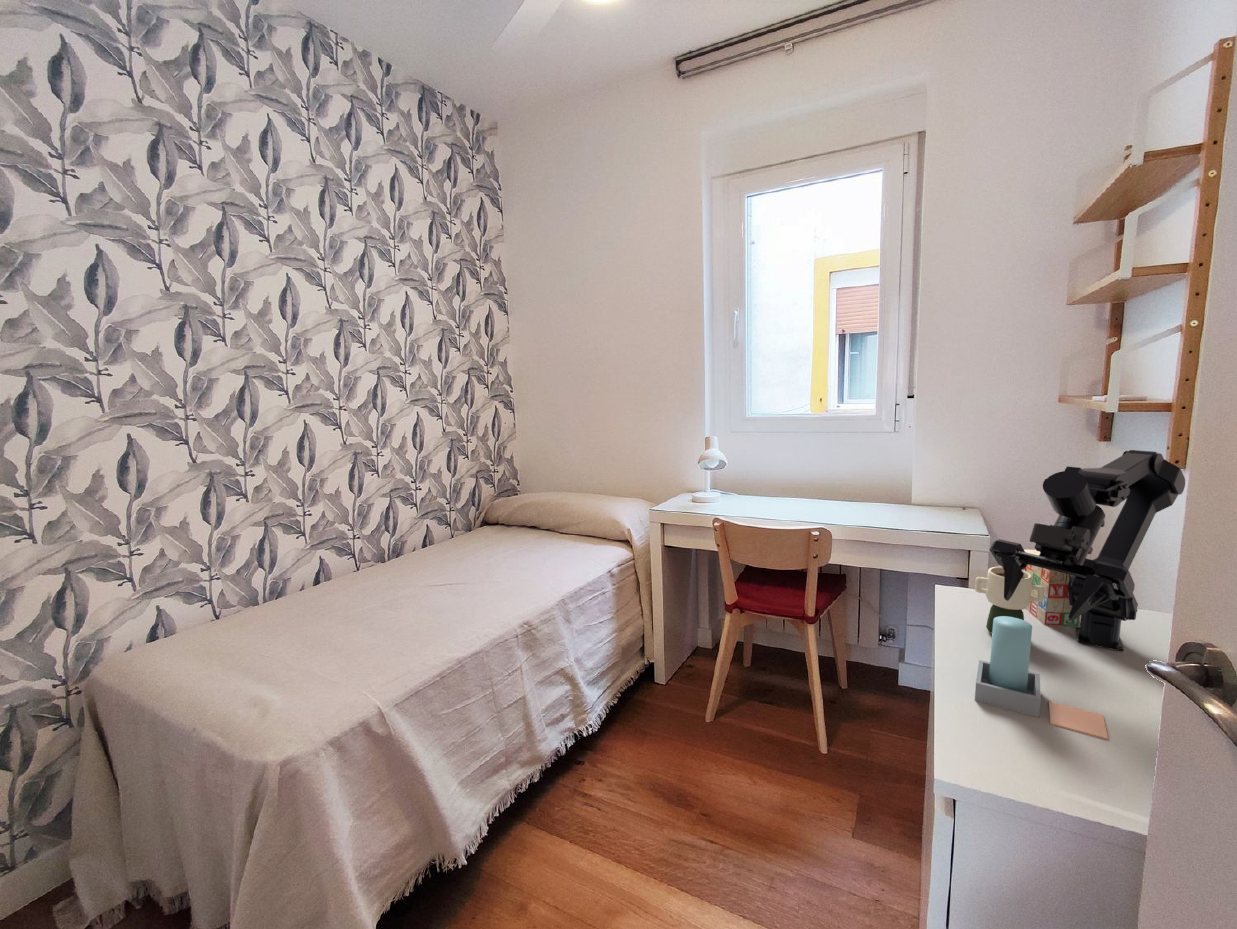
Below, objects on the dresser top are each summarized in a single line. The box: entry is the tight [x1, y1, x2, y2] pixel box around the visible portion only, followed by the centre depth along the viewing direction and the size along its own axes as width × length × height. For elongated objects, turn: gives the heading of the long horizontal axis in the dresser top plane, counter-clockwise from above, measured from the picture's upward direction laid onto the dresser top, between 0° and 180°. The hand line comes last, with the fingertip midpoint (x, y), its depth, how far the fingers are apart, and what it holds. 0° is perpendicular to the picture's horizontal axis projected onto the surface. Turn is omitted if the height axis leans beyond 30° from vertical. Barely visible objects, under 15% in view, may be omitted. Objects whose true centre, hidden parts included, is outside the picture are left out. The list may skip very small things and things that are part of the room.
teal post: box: [989, 616, 1033, 693], centre depth 86 cm, size 5×5×12 cm
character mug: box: [974, 566, 1044, 634], centre depth 106 cm, size 11×7×13 cm, turn 56°
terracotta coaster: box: [1048, 700, 1109, 741], centre depth 81 cm, size 6×6×1 cm
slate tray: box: [974, 659, 1042, 718], centre depth 87 cm, size 8×8×3 cm
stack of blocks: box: [997, 548, 1081, 627], centre depth 119 cm, size 21×6×12 cm, turn 168°
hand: (1036, 608), depth 89 cm, fingers open, 9 cm apart
